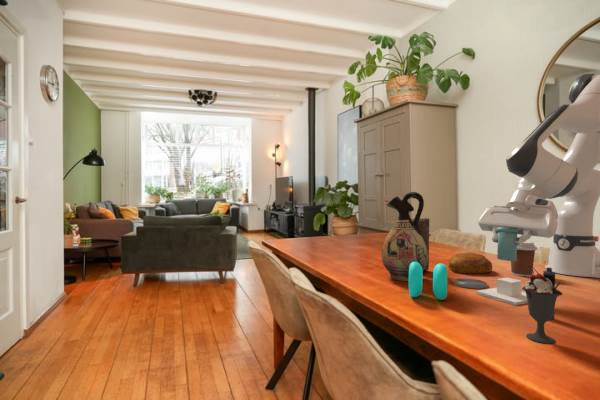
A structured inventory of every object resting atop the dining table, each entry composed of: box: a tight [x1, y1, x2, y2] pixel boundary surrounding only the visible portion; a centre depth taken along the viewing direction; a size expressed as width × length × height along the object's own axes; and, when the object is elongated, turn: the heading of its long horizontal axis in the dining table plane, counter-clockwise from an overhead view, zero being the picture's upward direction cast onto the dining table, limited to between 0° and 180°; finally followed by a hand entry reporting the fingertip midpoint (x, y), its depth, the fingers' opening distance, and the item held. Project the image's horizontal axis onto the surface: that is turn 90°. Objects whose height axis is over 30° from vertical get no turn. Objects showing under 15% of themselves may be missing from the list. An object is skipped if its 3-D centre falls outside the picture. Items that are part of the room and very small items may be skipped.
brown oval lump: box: [448, 251, 493, 274], centre depth 137 cm, size 14×16×8 cm
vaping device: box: [542, 268, 556, 320], centre depth 86 cm, size 3×5×12 cm, turn 27°
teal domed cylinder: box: [496, 227, 519, 262], centre depth 103 cm, size 5×5×9 cm
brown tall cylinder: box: [411, 217, 430, 272], centre depth 135 cm, size 8×7×20 cm
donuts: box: [408, 262, 448, 301], centre depth 101 cm, size 10×10×10 cm
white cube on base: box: [475, 277, 528, 306], centre depth 102 cm, size 12×12×5 cm
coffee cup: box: [510, 240, 538, 278], centre depth 129 cm, size 9×9×12 cm
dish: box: [452, 277, 488, 290], centre depth 116 cm, size 10×10×1 cm
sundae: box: [522, 265, 563, 345], centre depth 73 cm, size 7×7×15 cm
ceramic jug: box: [381, 191, 428, 282], centre depth 123 cm, size 17×15×30 cm
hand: (506, 242), depth 102 cm, fingers closed on teal domed cylinder, 5 cm apart
